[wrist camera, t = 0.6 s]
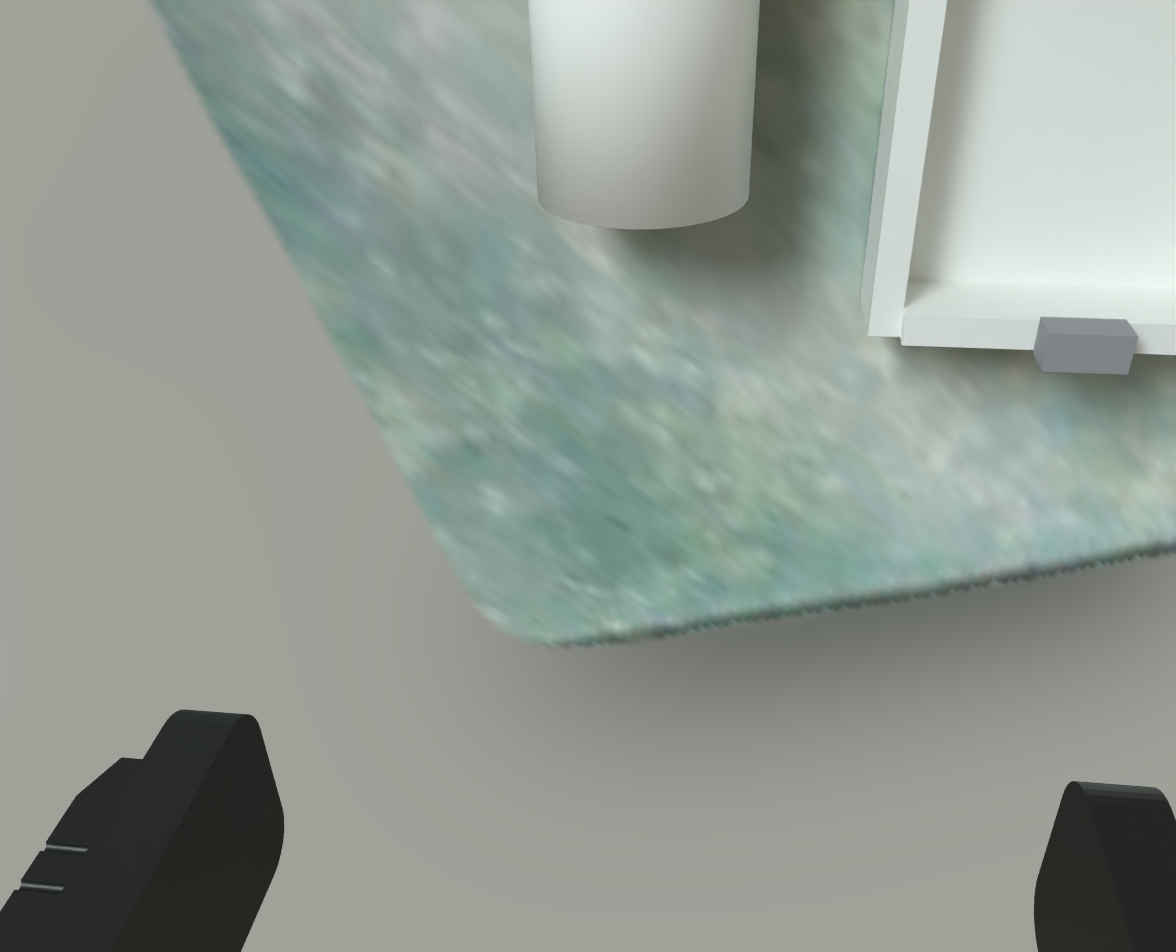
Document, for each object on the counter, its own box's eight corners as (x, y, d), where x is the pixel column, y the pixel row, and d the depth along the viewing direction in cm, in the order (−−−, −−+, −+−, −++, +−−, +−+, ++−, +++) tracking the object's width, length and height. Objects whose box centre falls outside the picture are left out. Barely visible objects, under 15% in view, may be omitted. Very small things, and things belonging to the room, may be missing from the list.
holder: (936, -346, 23) (966, -369, 19) (1460, -367, 21) (1591, -396, 18) (859, 301, 30) (872, 365, 27) (1243, 313, 29) (1306, 381, 26)
